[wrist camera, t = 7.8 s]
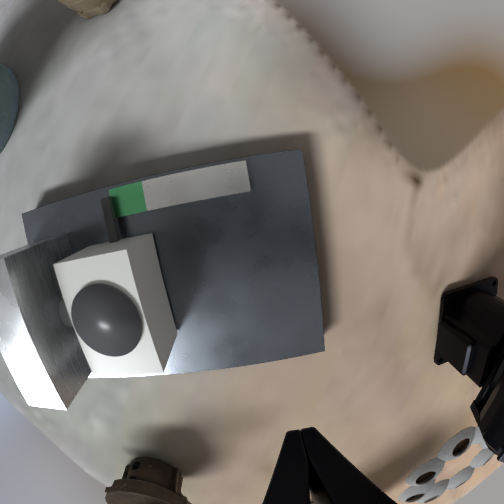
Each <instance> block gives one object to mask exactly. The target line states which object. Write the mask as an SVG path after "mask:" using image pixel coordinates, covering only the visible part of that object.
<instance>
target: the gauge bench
mask: <svg viewBox="0 0 504 504" xmlns="http://www.w3.org/2000/svg"><path fill="white" fill-rule="evenodd" d="M109 196H112V202H113V207H114V212H115V217H116V222H117V226H118V231H119V236H120V239H124V238H129V237H134V236H139V235H144V234H149V233H152V235H153V239H154V244H155V248H156V253H157V257H158V261H159V265H160V270H161V274H162V278H163V282H164V286H165V289H166V293H167V297H168V301H169V305H170V308H171V312H172V316H173V319H174V323H175V326H176V330H177V333H178V334H177V337H176V339H175V342H174V345H173V348H172V351H171V353H170V356H169V359H168V362H167V365H166V367H165V370H164V373H150V374H132V375H102V376H94V375H93V373H92V370H91V368H90V366H89V364H88V362H87V359H86V357H85V355H84V352H83V350H82V347H81V345H80V343H79V340H78V338H77V335H76V332H75V330H74V327H68V326H66V325H65V324H64V323H63V321H62V320H61V317H60V314H59V302H60V299H61V297H62V293H61V289H60V286H59V283H58V280H57V276H56V273H55V269H54V265H53V264H55V263H57V262H59V261H61V260H63V259H65V258H66V257H68V256H70V255H72V254H74V253H76V252H78V251H80V250H82V249H84V248H86V247H88V246H92V245H96V244H101V243H105V242H109V238H108V233H107V229H106V224H105V220H104V215H103V210H102V204H101V199H102V198H105V197H109ZM22 217H23V223H24V227H25V232H26V237H27V241H28V245H25V246H23V247H20V248H18V249H15V250H13V251H10V252H7V253H5V254H3V255H0V351H1V353H2V355H3V358H4V360H5V362H6V364H7V366H8V368H9V370H10V372H11V374H12V376H13V378H14V380H15V382H16V383H17V385H18V387H19V389H20V391H21V392H22V394H23V396H24V398H25V399H26V401H27V403H28V405H30V406H37V407H45V408H53V409H63V410H67V409H68V407H69V406H70V404H71V402H72V401H73V399H74V398H75V396H76V395H77V393H78V392H79V390H80V389H81V387H82V386H83V384H84V383H85V381H86V380H87V378H110V377H137V376H154V375H168V374H180V373H190V372H200V371H209V370H217V369H225V368H232V367H240V366H246V365H253V364H259V363H265V362H271V361H277V360H282V359H288V358H293V357H298V356H303V355H308V354H313V353H317V352H322V351H325V346H324V331H323V317H322V305H321V294H320V283H319V273H318V264H317V254H316V246H315V237H314V229H313V221H312V213H311V206H310V199H309V192H308V185H307V178H306V172H305V165H304V159H303V153H302V149H298V150H290V151H282V152H275V153H268V154H261V155H254V156H248V157H242V158H236V159H230V160H224V161H219V162H213V163H208V164H203V165H197V166H192V167H188V168H183V169H178V170H173V171H169V172H164V173H160V174H156V175H151V176H147V177H143V178H139V179H135V180H131V181H127V182H123V183H119V184H115V185H112V186H108V187H104V188H101V189H97V190H94V191H90V192H87V193H83V194H80V195H77V196H74V197H70V198H67V199H64V200H61V201H58V202H55V203H52V204H49V205H46V206H43V207H40V208H37V209H34V210H31V211H28V212H25V213H23V214H22Z"/></svg>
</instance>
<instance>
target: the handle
mask: <svg viewBox="0 0 504 504" xmlns="http://www.w3.org/2000/svg"><path fill="white" fill-rule="evenodd" d="M57 1H59V2H60V3H61V4H63V5H65V6H66V7H68V8H70V9H72V10H74V11H77V14H78V15H79V16H81V17H83V18H85V19H90V18H92V17H94V16H96V15H99V14H105V13H107V12H108V11H109V10H110V8H111V6H112V5H113V3H114V2H115V1H117V0H57Z"/></svg>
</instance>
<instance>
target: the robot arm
mask: <svg viewBox="0 0 504 504" xmlns="http://www.w3.org/2000/svg"><path fill="white" fill-rule="evenodd" d="M497 285H498V279H497V278H496V277H493V276H492V277H489V278H486V279H483V280H481V281H478V282H475V283H472V284H469V285H466V286H463V287H460V288H457V289H453V290H450V291H447V292H445V293H444V294H443V295H442V297H441V305H440V316H439V325H438V334H437V341H436V349H435V355H434V362H435V363H436V364H437V365H441V364H443V363H446V362H449V363H450V364H451V365H452V366H453V367H454V368H455V369H456V370H458V371H459V372H460V373H461V374H462V375H463V376H464V375H467V376H468V377H469V378H470V379H471V380H473V381H474V382H475V383H476V384H477V385H478V386H479V387H482V386H483V387H482V388H481V390H480V392H479V394H478V396H477V398H476V399H475V400H474V401H473V403H472V404H471V406H470V408H471V410H472V413H473V415H474V417H475V420H476V422H477V424H478V427H479V429H480V431H481V434H482V437H483V440H484V441H485V443H486V445H487V447H488V449H489V450H490V451H492V452H493V453H494V454H496V455H497V456H498V457H497V460H498V461H501V462H504V300H503V299H501V298H499V297H497V296H496V293H497ZM447 298H448V299H447ZM380 492H381V490H380V489H379V488H378V487H377V486H376V485H375V484H374V483H372V482H371V481H370V480H369V479H368V478H367V477H366V476H365V475H364V474H362V473H361V472H360V471H359V470H358V469H357V468H356V467H355V466H354V465H353V464H352V463H351V462H350V461H348V460H347V459H346V458H345V457H344V456H343V455H342V454H341V453H340V452H339V451H338V450H337V449H336V448H335V447H334V446H333V445H332V444H331V443H330V442H329V441H328V440H327V439H326V438H325V437H324V436H323V435H322V434H321V433H320V432H319V431H318V430H317V429H316V428H314V427H309V428H304V429H301V431H300V430H292V431H288V432H287V433H286V435H285V438H284V441H283V445H282V448H281V451H280V454H279V457H278V460H277V463H276V466H275V469H274V472H273V475H272V478H271V481H270V484H269V487H268V490H267V492H266V495H265V498H264V501H263V503H262V504H310V493H311V496H312V499H313V502H314V504H397V503H396V502H395V501H393V500H392V499H391V498H390V497H389V496H387V495H386V494H385V493H384V492H381V493H380Z"/></svg>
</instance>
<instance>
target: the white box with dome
mask: <svg viewBox="0 0 504 504" xmlns="http://www.w3.org/2000/svg"><path fill="white" fill-rule="evenodd" d="M101 204H102V210H103V215H104V220H105V224H106V229H107V233H108V238H109V242H105V243H101V244H96V245H92V246H88V247H86V248H84V249H82V250H80V251H78V252H76V253H74V254H72V255H70V256H68V257H66V258H65V259H63V260H61V261H59V262H57V263H55V264H53V265H54V269H55V273H56V276H57V280H58V283H59V286H60V289H61V293H62V297H61V299H60V302H59V314H60V317H61V320H62V321H63V323H64V324H65V325H66V326H68V327H74V330H75V332H76V335H77V338H78V340H79V343H80V345H81V347H82V350H83V352H84V355H85V357H86V359H87V362H88V364H89V366H90V368H91V370H92V373H93V375H94V376H102V375H132V374H150V373H164V370H165V367H166V365H167V362H168V359H169V356H170V353H171V351H172V348H173V345H174V342H175V339H176V337H177V334H178V333H177V330H176V326H175V323H174V319H173V316H172V312H171V308H170V305H169V301H168V297H167V293H166V289H165V286H164V282H163V278H162V274H161V270H160V265H159V261H158V257H157V253H156V248H155V244H154V239H153V235H152V233H149V234H144V235H139V236H134V237H129V238H124V239H120V236H119V231H118V226H117V222H116V217H115V212H114V207H113V202H112V196H109V197H105V198H102V199H101Z"/></svg>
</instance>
